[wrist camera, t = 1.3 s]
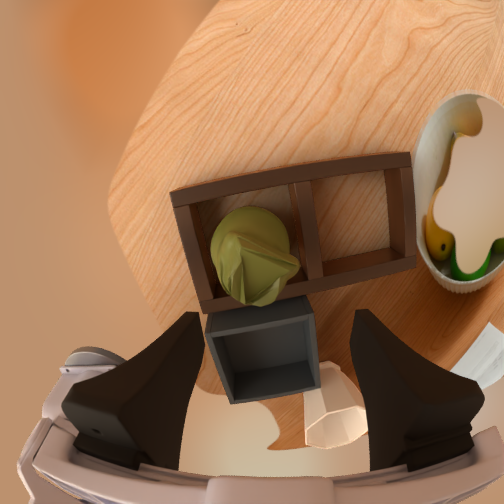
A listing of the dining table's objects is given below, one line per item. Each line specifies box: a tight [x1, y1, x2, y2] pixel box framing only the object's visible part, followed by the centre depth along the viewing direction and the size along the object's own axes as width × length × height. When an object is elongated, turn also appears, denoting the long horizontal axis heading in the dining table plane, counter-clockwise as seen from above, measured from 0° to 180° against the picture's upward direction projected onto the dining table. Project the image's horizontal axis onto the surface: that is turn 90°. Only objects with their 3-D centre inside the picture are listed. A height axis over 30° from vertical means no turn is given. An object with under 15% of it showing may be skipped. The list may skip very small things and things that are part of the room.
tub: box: [205, 295, 321, 404], centre depth 25 cm, size 8×8×5 cm
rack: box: [170, 152, 416, 314], centre depth 22 cm, size 10×19×3 cm, turn 101°
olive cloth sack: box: [210, 206, 300, 307], centre depth 19 cm, size 6×5×10 cm
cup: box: [303, 361, 368, 449], centre depth 25 cm, size 7×10×8 cm
